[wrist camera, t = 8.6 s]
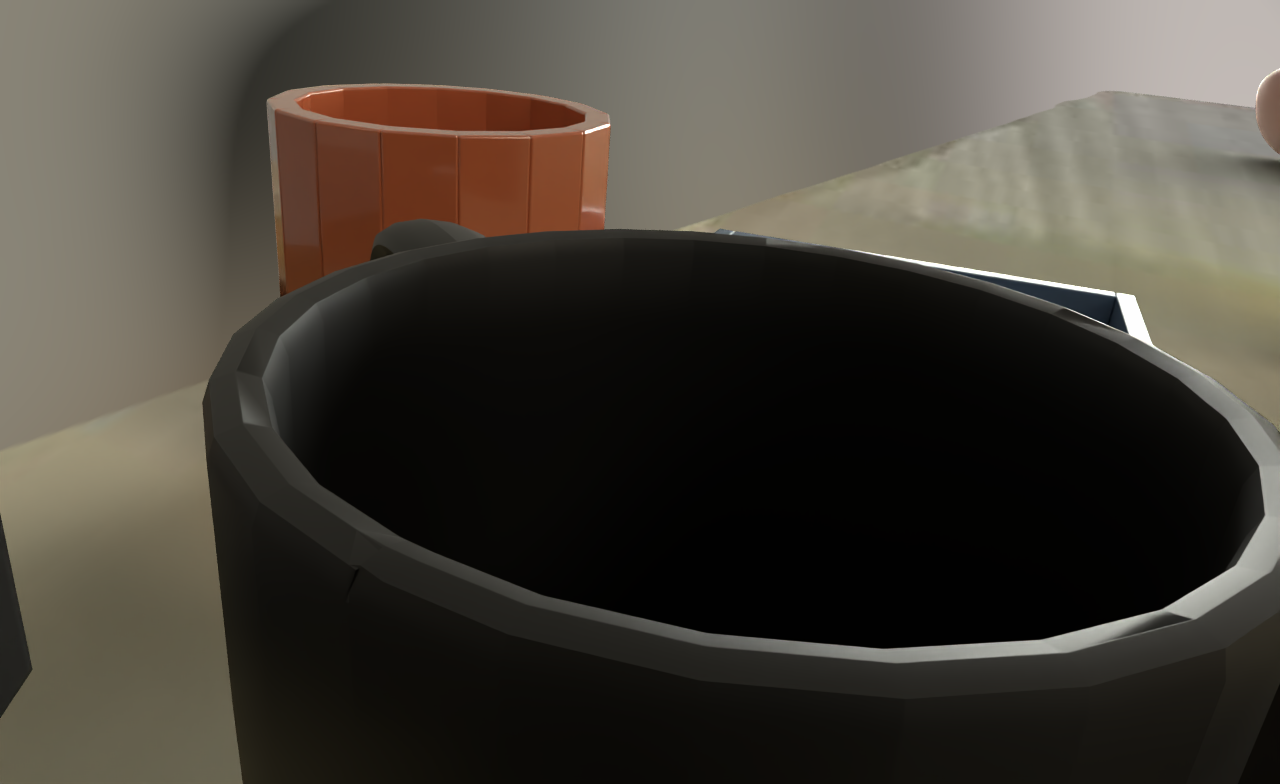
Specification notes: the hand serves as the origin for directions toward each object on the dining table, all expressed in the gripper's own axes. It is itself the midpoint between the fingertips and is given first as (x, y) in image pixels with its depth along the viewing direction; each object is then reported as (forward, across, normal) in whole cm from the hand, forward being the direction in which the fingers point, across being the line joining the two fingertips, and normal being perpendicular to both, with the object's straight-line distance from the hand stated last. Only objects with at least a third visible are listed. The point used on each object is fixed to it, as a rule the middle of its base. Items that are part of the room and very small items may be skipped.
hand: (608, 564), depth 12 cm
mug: (-1, 0, -6) cm, 6 cm away
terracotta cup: (+14, -3, -6) cm, 16 cm away
